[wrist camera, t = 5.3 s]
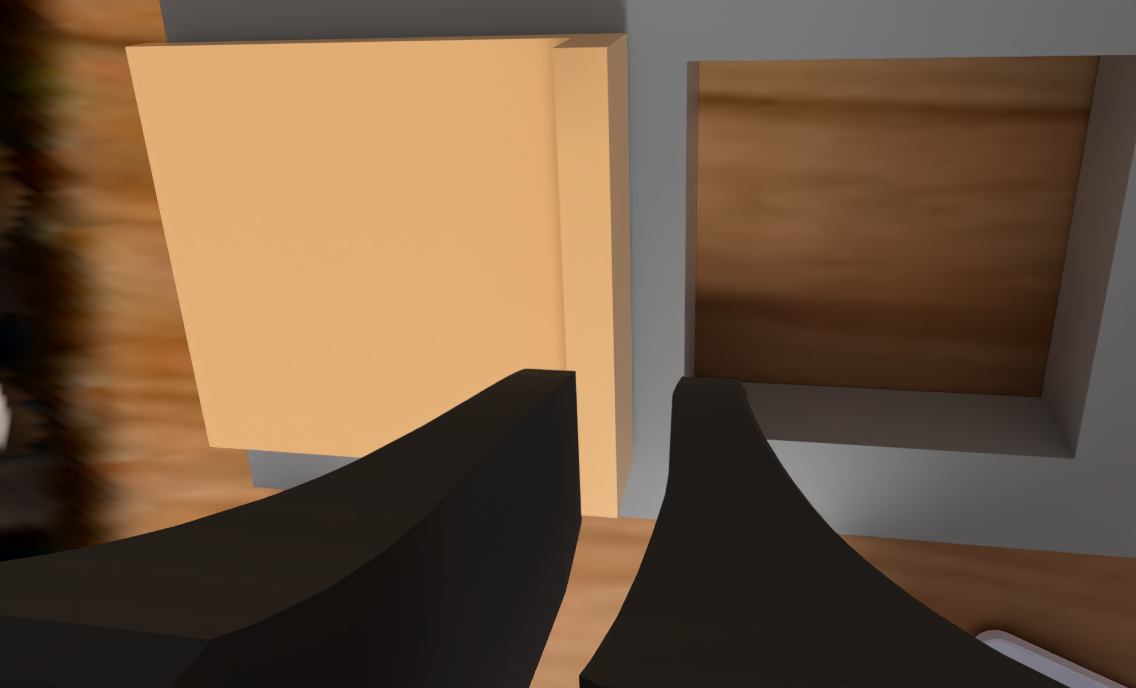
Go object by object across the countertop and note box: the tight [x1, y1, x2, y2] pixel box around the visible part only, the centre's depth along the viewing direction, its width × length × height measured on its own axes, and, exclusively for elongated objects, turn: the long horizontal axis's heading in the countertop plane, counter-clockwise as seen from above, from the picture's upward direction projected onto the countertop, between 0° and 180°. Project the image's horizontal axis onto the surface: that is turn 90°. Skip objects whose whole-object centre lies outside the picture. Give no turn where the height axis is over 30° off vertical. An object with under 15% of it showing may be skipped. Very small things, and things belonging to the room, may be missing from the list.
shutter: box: [125, 33, 633, 518], centre depth 17 cm, size 9×8×2 cm
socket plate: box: [159, 0, 1136, 558], centre depth 18 cm, size 19×11×2 cm, turn 92°
